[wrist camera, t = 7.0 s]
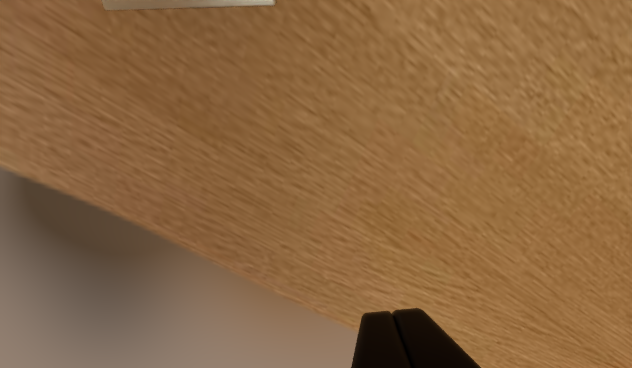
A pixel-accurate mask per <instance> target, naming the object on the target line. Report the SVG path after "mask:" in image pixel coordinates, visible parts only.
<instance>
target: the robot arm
mask: <svg viewBox="0 0 632 368" xmlns="http://www.w3.org/2000/svg"><path fill="white" fill-rule="evenodd" d="M351 368H481V367H480V366H479V365H478V364H477V363H476V362H475V361H474V360H473V359H472V358H471V357H470V356H469V355H468V354H467V353H466V352H465V351H464V350H463V349H462V348H461V347H460V346H459V345H458V344H457V343H456V342H455V341H454V340H453V339H452V338H451V337H450V336H449V335H447V334H446V333H445V332H444V331H443V330H442V329H441V328H440V327H439V326H438V325H437V324H436V323H435V322H434V321H433V320H432V319H431V318H430V317H429V316H428V315H427V314H426V313H425V312H424V311H423V310H421V309H419V308H413V309H402V310H395V311H394V312H393V313H392V314H391V313H390V312H389V311H381V312H370V313H365V314H363V316H362V319H361V323H360V328H359V333H358V338H357V343H356V347H355V353H354V357H353V362H352V367H351Z"/></svg>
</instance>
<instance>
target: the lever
mask: <svg viewBox="0 0 632 368" xmlns="http://www.w3.org/2000/svg"><path fill="white" fill-rule="evenodd" d="M101 1H102V5H103V8H104V9H105V10H107V11H110V10H146V9H182V8H219V7H255V6H275V4H276V0H101Z"/></svg>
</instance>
